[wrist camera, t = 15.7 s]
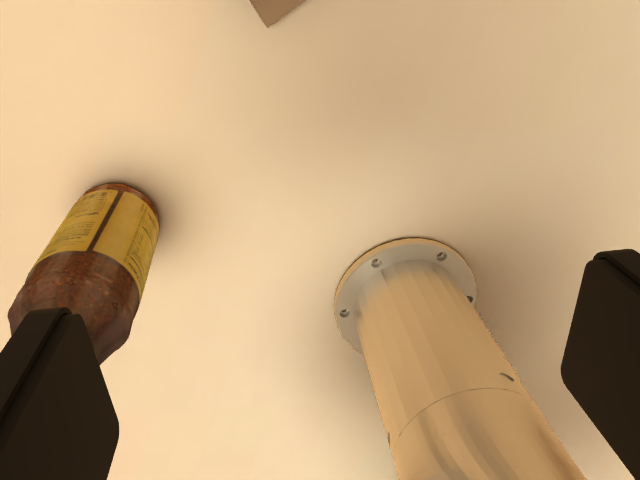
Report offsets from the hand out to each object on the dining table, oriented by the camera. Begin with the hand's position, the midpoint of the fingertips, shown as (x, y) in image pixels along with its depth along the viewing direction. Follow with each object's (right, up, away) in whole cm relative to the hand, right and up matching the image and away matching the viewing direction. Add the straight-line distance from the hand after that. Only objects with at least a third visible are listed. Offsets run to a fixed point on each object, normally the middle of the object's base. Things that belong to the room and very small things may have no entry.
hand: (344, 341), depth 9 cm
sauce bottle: (-16, +4, +29) cm, 33 cm away
